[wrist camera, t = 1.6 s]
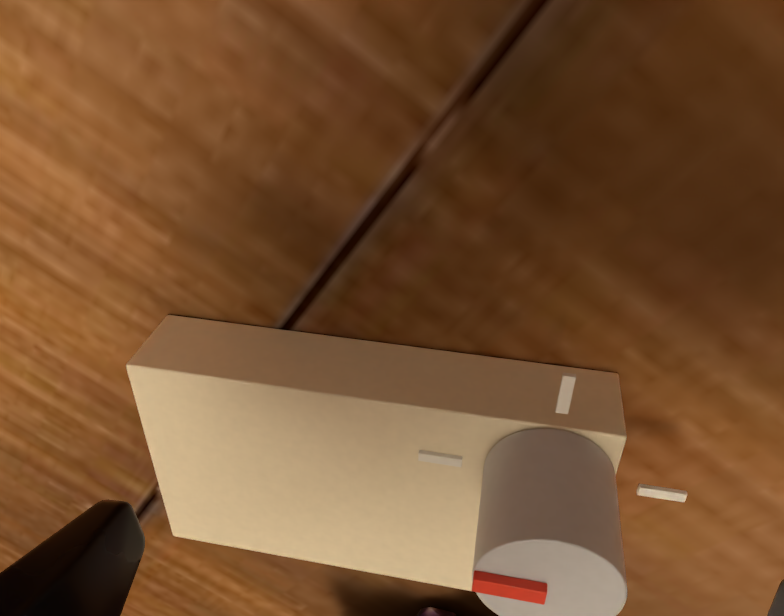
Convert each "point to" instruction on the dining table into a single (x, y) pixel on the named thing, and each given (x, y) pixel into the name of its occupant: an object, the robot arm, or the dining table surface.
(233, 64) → the dining table surface
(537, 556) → the knob
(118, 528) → the robot arm
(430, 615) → the fruit
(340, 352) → the panel
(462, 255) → the dining table surface
